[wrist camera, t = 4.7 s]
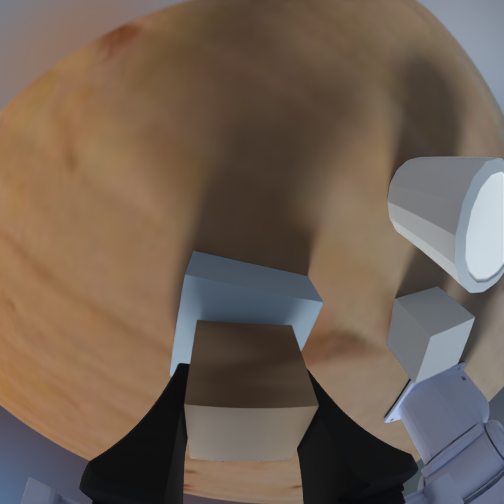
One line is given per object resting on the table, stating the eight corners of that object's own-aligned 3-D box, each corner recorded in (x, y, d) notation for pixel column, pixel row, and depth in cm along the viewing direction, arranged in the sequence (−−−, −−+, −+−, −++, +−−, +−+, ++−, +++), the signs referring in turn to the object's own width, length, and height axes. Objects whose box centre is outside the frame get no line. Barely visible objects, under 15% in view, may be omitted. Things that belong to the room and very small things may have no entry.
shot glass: (396, 130, 14) (480, 129, 7) (461, 172, 15) (533, 192, 8) (364, 232, 16) (434, 282, 9) (433, 257, 17) (496, 301, 10)
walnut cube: (292, 325, 13) (318, 405, 8) (276, 386, 14) (290, 459, 10) (197, 319, 12) (184, 404, 7) (197, 383, 14) (190, 458, 9)
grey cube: (437, 285, 18) (475, 317, 13) (427, 329, 19) (457, 363, 15) (394, 298, 18) (430, 336, 13) (386, 343, 19) (414, 384, 15)
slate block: (306, 273, 17) (323, 302, 13) (272, 357, 19) (280, 392, 16) (193, 248, 16) (185, 274, 12) (177, 340, 18) (169, 376, 14)
